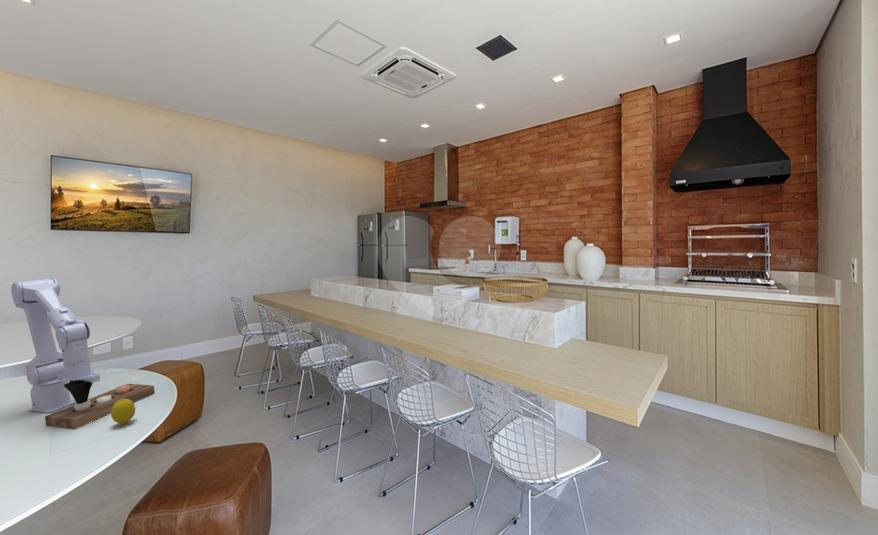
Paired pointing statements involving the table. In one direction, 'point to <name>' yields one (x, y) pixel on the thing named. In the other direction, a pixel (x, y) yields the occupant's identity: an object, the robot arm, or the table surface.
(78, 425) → the walnut board
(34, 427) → the table surface
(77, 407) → the grey plug right
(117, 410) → the lemon
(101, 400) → the grey plug middle
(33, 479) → the table surface
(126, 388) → the terracotta plug
